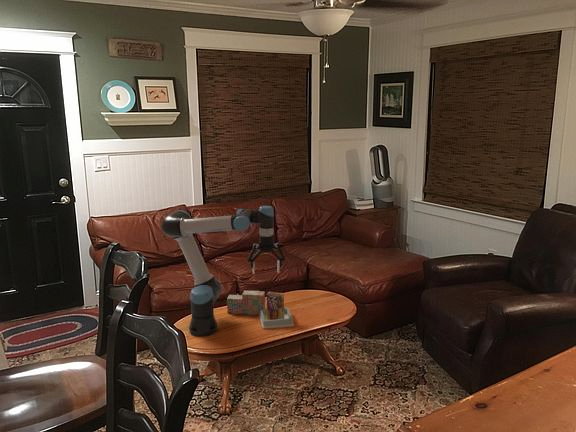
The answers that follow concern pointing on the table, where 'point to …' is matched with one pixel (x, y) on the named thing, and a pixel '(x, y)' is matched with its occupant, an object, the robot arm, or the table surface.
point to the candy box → (275, 306)
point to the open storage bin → (276, 323)
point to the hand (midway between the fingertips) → (266, 272)
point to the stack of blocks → (246, 303)
